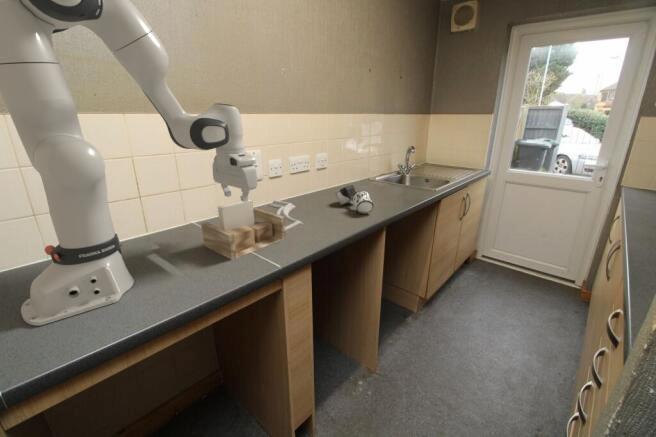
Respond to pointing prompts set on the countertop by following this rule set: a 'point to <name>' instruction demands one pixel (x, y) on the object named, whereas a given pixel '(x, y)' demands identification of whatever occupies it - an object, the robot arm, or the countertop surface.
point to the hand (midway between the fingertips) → (236, 198)
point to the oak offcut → (243, 238)
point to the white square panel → (236, 215)
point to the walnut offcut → (262, 231)
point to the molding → (285, 211)
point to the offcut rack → (225, 240)
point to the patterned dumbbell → (355, 199)
